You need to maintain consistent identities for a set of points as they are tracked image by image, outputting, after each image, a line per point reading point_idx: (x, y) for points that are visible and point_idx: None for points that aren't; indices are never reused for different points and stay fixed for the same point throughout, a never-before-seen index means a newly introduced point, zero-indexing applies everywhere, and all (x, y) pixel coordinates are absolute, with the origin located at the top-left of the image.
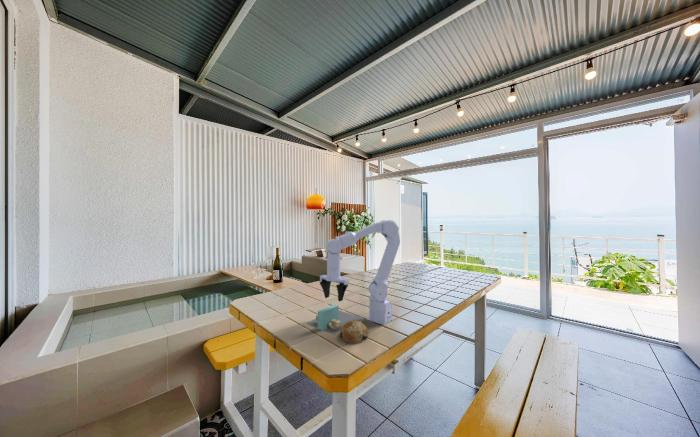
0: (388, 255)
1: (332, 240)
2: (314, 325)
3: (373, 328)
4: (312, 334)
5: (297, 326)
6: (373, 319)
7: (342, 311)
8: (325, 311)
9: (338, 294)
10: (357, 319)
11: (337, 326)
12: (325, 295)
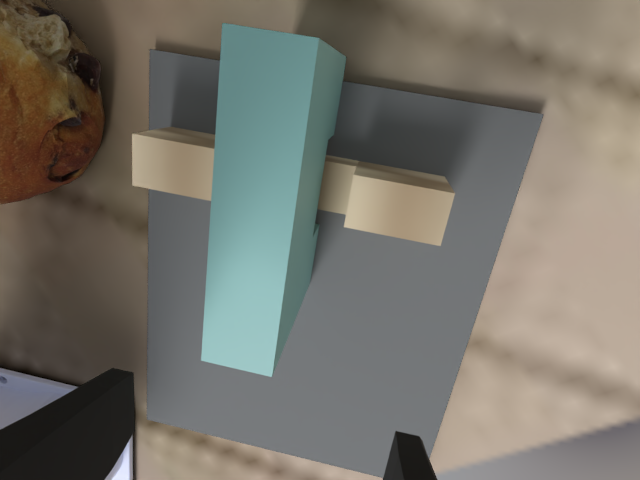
0: None
1: None
2: (422, 111)
3: (10, 298)
4: None
5: (603, 15)
6: (56, 399)
7: (356, 470)
8: (217, 103)
9: (25, 437)
10: (168, 377)
11: (155, 130)
12: (402, 459)
